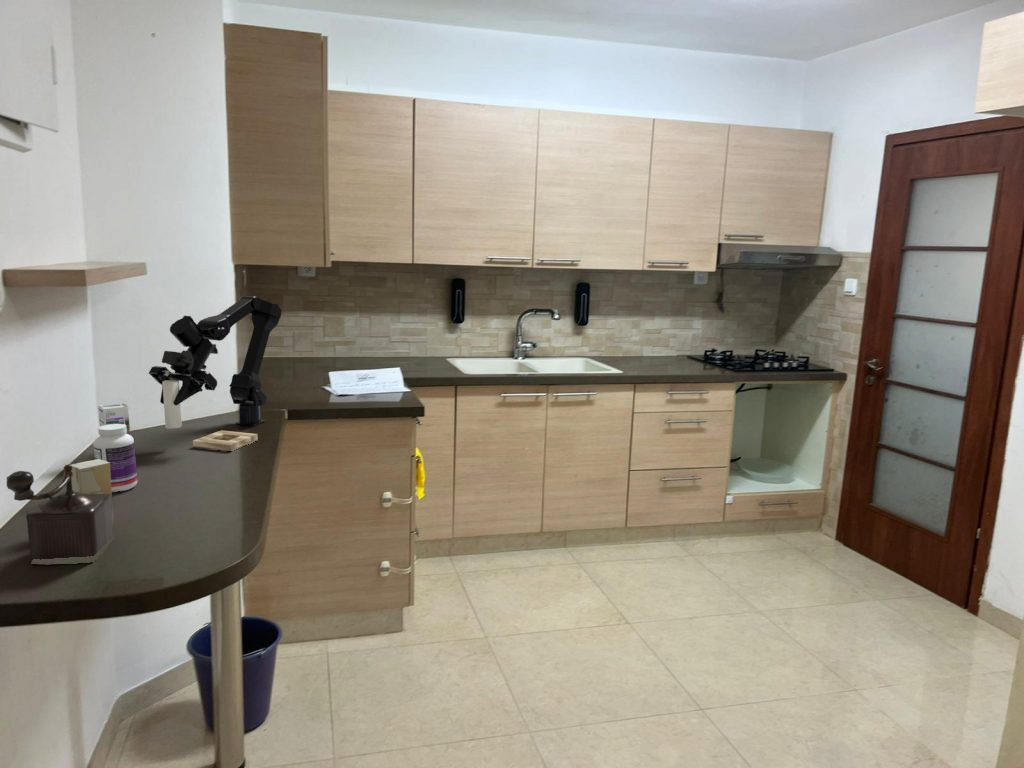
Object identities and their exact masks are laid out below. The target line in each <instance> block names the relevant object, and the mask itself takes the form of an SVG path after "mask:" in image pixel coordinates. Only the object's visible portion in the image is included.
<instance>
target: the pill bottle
mask: <svg viewBox="0 0 1024 768" xmlns="http://www.w3.org/2000/svg"><path fill="white" fill-rule="evenodd" d="M97 430H98V434H99V436H98V437H97V438H95V439H94V441H93V443H92V444H93V445H92V447H93V453H94V454H93V455H94V460H96V459H101V460H104V461H107V462H110V474H111V491H112V493H118V491H120V492H125V491H128V490H130V489H133V488H134V487H135V486H136V485H137V483H138V474H137V472H138V471H137V460H136V449H135V440H134V437H133V436H132V435H131V434H130V435H129V434H126V432H127V428H126V425H124V424H109V425H104V426H100V425H99V427H98V428H97Z"/></svg>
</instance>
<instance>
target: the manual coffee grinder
mask: <svg viewBox="0 0 1024 768" xmlns="http://www.w3.org/2000/svg"><path fill="white" fill-rule="evenodd" d="M71 465H72V464H69V463H68V464H64V467H63V471H64V472H63V478H62V480H61V481H60V483H59V484H58V486H56V487H55V488H54V489H52V490H50V491H48V492H45V493H41V494H35V493H34V491H33V490H32V485H33V484H34V482H35V479H34V475H33V474H32V473H31V472H30V471H25V470H19V471H17V470H16V471H14V472H12V473H11V474H10V475H8V476H6V487H7V489H8V490H10V491H12V492H13V493H14V496H13V497H14V498H13V499H14V500H15V501H21V502H22V501H26V500H27V501H28V500H29V501H32V500H33V501H35V500H36V501H37V500H42V501H40V502H39V503H38V505H37V506H36V507H34V509H32V510H31V511H29V512H28V513H27V514H26V522H27V533H28V545H29V552H30V553H29V554H30V561H31V560H33V559H40V560H41V559H54V558H69V557H87V556H89V557H90V556H94V555H95V554H96V553H97V552H98V551H99V550H100V549H101V548H102V547H103V546H104V545H105V544H106V543H107V542H108V541H109V540H110V539H111V538H112V537H113V536H114V537H115V531H114V516H113V517H112V508H113V503H112V504H111V494H85V493H80V492H74V491H73V489H72V476H73V472H72V466H71ZM64 487H65V491H63V492H61V490H62V489H64ZM59 492H60V493H59Z"/></svg>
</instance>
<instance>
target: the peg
mask: <svg viewBox="0 0 1024 768" xmlns="http://www.w3.org/2000/svg"><path fill="white" fill-rule="evenodd" d="M162 384H163V398H164V404H163V410H164V423H165V425H164V426H165V429H171V430H172V429H179V428H181V427H182V426H183V423H182V421H183V420H182V408H181V403H180V404H178V405H174V404H173V403H174V400H175V398H176V396H177V394H178V392H179V390H180V381H179V380H165V381H162Z"/></svg>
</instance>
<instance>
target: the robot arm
mask: <svg viewBox="0 0 1024 768" xmlns="http://www.w3.org/2000/svg"><path fill="white" fill-rule="evenodd" d="M248 315H251V317H250V319H251V323H252V325H253V330H252V333H251V337H250V340H249V344H248V347H247V351H246V354H245V358H244V361H243V365H242V368H241V371H240V372H239V373H233V375H232V377H231V381H230V384H229V387H230V389H229V393H230V396H231V397H230V398H231V400H232V403H233V404H234V405H239V406H238V408H239V411H238V414H239V416H238V419H239V421H235V425H239V424H240V426H241V425H243V426H251V427H254V426H256V425H257V426H258V425H259V424H262V423H265V422H266V419H261V417H262V416H261V406H264V405H266V403H267V396H266V395H265V393H263V391H262V390H261V388H262V387H261V386H262V382H261V380H260V376H259V373H260V370H261V366H262V363H263V359H264V355H265V353H266V348H267V345H268V341H269V337H270V333H271V332H272V331H273V329H275V328H276V327H277V326H278V324H279V322H280V319H281V316H282V309H281V307H280V306H279V304H277V303H275V302H274V303H273V302H270V301H267V300H264V299H263V298H262V299H261V298H260V297H258V296H256V295H255V296H253V295H252V296H251V295H244V296H242V297H240V300H237V302H235V303H234V304H232V305H231V306H229V307H228V308H226V309H225V310H223V311H222V312H220V313H218V314H217V315H213V316H208V317H206V318H205V317H204V318H203V319H200V320H199V321H198V322H197V323H196V322H195V320H194V319H193V317H192V316H191V315H183V316H182V318H179V319H177V320H176V321H175V322H173V323H171V325H170V328H169V332H170V333H171V335H172V336H174V338H175V339H176V340H177V341H178V342H179V343H180V345H182V346H183V347H187V349H186V350H182V351H181V352H179V351H170V350H164V351H163V355H162V359H161V363H162V364H167V365H170V367H169V368H170V369H171V370H172V371H174V372H172V371H171V370H169V369H168V367H166V366H161V365H160V366H158V365H154V366H151V368H150V370H149V371H148V375H150V376H151V377H152V378H153V379H154V380H155V381H156V382H157V383H158V384H159V385H162V387H161V393H160V394H161V395H160V399H159V400H160V401H159V402H160V403H161V405H164V398H163V384H162V381H165V380H179V382H182V384H181V387H180V388H179V392H178V394H177V396H176V398H175V400H174V403H173V404H174V405H178V404H180V405H181V403H183V402H185V401H186V400H188V399H189V398H191V397H192V396H194V395H196V394H197V393H200V392H203V386H204V389H205V390H207V391H215V390H216V388H217V386H218V380H217V378H215V377H214V375H212V374H211V373H210V372H209V371H208V370H206V369H207V365H206V362H207V360H208V359H209V357H210V355H211V354H213V355H217V354H219V352H218V351H219V349H218V348H217V344H215V343H212V341H218V342H220V341H224V340H225V338H226V337H227V336H228V335H229V334H230V333H231V328H233V326H235V324H238V322H240V321H241V320H243V319H244V318H246V317H247V316H248Z"/></svg>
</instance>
